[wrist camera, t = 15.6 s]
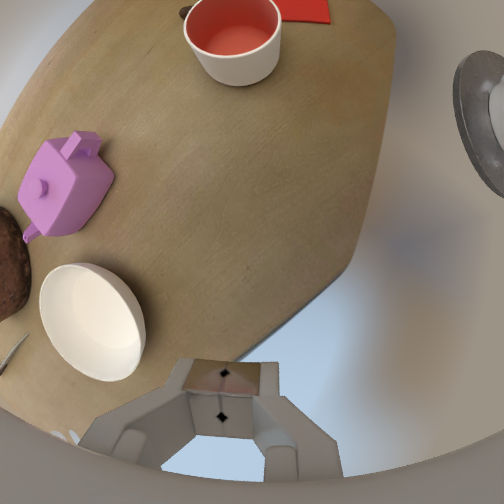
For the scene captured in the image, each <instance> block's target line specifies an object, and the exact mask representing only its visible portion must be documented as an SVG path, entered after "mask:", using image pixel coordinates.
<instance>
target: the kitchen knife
mask: <svg viewBox="0 0 504 504" xmlns="http://www.w3.org/2000/svg"><path fill="white" fill-rule="evenodd" d="M28 335H29V333H28V332H27V333H26V334H25V335H24V336H23V337H22V338H21V339H20V340H19V341H18V342H17V343H16V344H15V345H14V347H13V348H12V349H11V350H10V352H9V353H8V355H7V356H6V357H5V359H4V360H3V362H2V363H1V365H0V375H1V374H2V372H3V371H4V369H5V368H6V366H7V363H8V362H9V360H10V359H11V357H12V356H13V354H14V353H15V351H16V350H17V349H18V347H19V346H20V344H21V343H22V342H23V340H24V339H25V338H26V337H27V336H28Z"/></svg>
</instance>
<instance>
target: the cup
mask: <svg viewBox="0 0 504 504" xmlns="http://www.w3.org/2000/svg"><path fill="white" fill-rule="evenodd" d="M184 35H185V38H186V40H187V42H188V43H189V45H190V46H191V48H192V50H193V51H194V53H195V54H196V56H197V58H198V59H199V61H200V62H201V64H202V66H203V67H204V69H205V71H206V72H207V73H208V74H209V75H210V76H211V77H212V78H213V79H215V80H216V81H218V82H220V83H223V84H226V85H231V86H245V85H250V84H254V83H256V82H259V81H261V80H262V79H264V78H265V77H267V76H268V75H269V74H270V73H271V72H272V71H273V70H274V68H275V67H276V65H277V63H278V60H279V54H280V37H281V14H280V11H279V9H278V7H277V6H276V4H275V3H274V2H273V1H272V0H200V1H198V2H197V3H196V4H195V5H194V6H193V7H192V8H191V10H190V11H189V12H188V14H187V16H186V18H185V22H184Z"/></svg>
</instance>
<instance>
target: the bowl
mask: <svg viewBox="0 0 504 504" xmlns="http://www.w3.org/2000/svg"><path fill="white" fill-rule="evenodd" d="M39 306H40V314H41V318H42V322H43V325H44V328H45V330H46V333H47V335H48V337H49V339H50V340H51V342H52V344H53V345H54V347H55V348H56V350H57V351H58V352H59V354H60V355H61V356H62V357H63V358H64V359H65V360H66V361H67V362H68V363H69V364H70V365H72V366H73V367H74V368H75V369H77V370H78V371H80V372H81V373H83V374H85V375H87V376H89V377H91V378H94V379H98V380H101V381H118V380H121V379H124V378H126V377H128V376H129V375H130V374H131V373H133V372H134V371H135V369H136V367H137V366H138V364H139V362H140V359H141V356H142V353H143V349H144V346H145V339H146V331H145V324H144V317H143V314H142V310H141V307H140V305H139V303H138V301H137V299H136V297H135V296H134V294H133V293H132V291H131V290H130V288H129V287H128V286H127V285H126V284H125V283H124V282H123V281H122V280H121V279H120V278H119V277H118V276H116V275H115V274H114V273H112V272H110V271H108V270H106V269H104V268H102V267H100V266H97V265H94V264H91V263H81V262H80V263H72V264H66V265H61V266H59V267H57V268H55V269H53V270H52V271H51V272H50V273H49V274H48V275H47V276H46V278H45V280H44V282H43V284H42V287H41V291H40V299H39Z"/></svg>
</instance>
